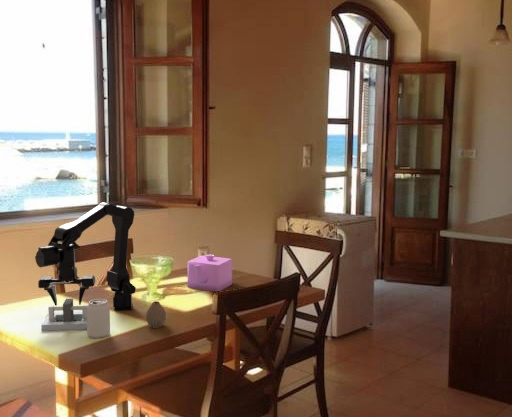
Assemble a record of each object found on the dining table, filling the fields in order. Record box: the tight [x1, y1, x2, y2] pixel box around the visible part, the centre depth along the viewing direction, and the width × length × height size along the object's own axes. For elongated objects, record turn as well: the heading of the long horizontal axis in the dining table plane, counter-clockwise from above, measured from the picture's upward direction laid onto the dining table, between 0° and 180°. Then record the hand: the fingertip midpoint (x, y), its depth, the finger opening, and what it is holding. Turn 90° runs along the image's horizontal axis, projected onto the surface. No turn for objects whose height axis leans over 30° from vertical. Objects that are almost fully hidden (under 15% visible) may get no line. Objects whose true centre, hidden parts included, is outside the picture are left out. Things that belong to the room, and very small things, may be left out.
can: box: [86, 298, 111, 339], centre depth 204 cm, size 8×8×12 cm
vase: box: [145, 301, 167, 329], centre depth 214 cm, size 7×7×9 cm
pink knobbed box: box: [187, 254, 233, 292], centre depth 264 cm, size 15×25×14 cm, turn 156°
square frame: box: [41, 304, 88, 332], centre depth 215 cm, size 16×13×6 cm
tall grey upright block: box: [62, 298, 74, 322], centre depth 215 cm, size 2×7×8 cm, turn 8°
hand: (68, 305), depth 215 cm, fingers open, 8 cm apart
